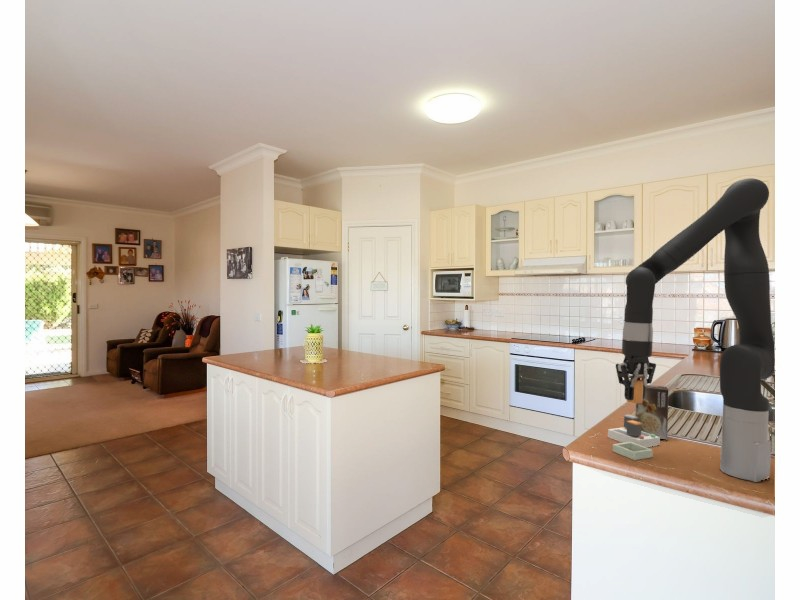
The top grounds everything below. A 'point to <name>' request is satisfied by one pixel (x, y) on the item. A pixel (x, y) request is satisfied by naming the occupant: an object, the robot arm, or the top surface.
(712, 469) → the top surface
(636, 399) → the cap
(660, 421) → the coffee box
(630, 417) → the block
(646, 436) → the box
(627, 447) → the pale green square frame
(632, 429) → the tagged breaker
